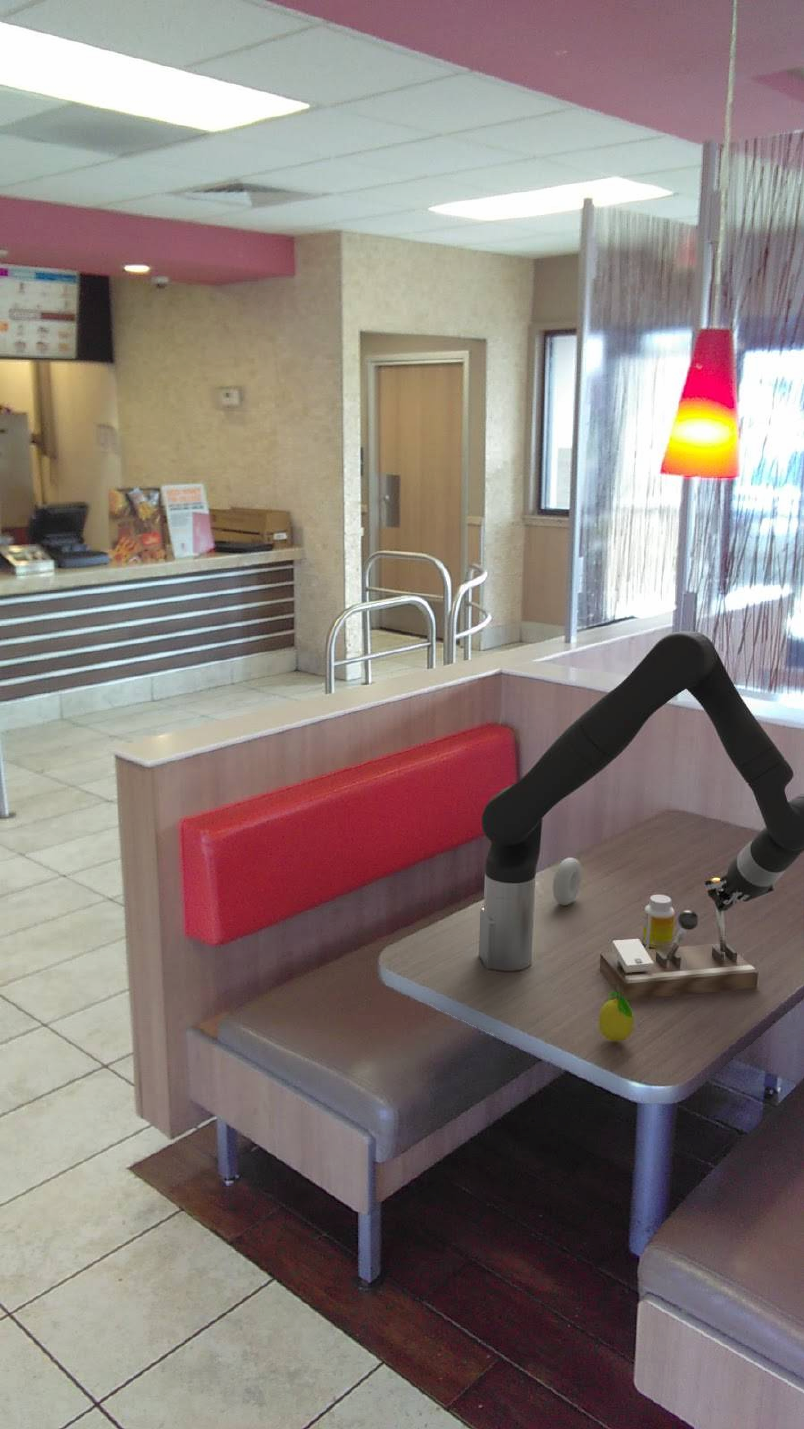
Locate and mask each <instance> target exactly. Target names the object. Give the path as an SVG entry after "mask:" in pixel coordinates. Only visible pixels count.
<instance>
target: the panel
mask: <svg viewBox="0 0 804 1429" xmlns="http://www.w3.org/2000/svg"><path fill="white" fill-rule="evenodd" d="M726 945H727V952H722V951H721V950H720V943H709V944H699V945H698V944H697V945H685V946H679V948H678V950H677V952H676V954H675V956H674V958H673V960H672V961H667V958H666V956H667V954H668V952H669V950H670V948H659V949H647V950H646V949H645V950H646V952H647V953H648V955H649V956H650V958H651V960H652V961H653V963H654V964H653V969H652V970H651V971H640V972H628V973H626V972H625V971H624V969H623V967H622V965H621V964H620V962H619V960H618V959H617V957H616V955H615V953H614V952H613V951H611V952H604V953H603V952H600V958H599V970H600V971H601V970H602V971H601V973H603V974H604V977H606V978H607V979H608V981H609V982H610V983H611V984H612V985H613V986H614V988H615V990H616V991H618V986H619V992H620V994H621V995H623V996H624V997H625V998H626V1000H627V1001H628V1000H637V999H648V998H649V999H651V998H658V997H670V996H671V997H672V996H678V995H679V996H681V995H682V996H683V995H693V994H703V993H715V992H724V991H735V990H744V989H745V990H746V989H756V988H758V979H759V978H758V977H759V972H758V970H756V968H755V967H754V966H753V965H752V964H750V963H749V962H747V961H746V960H745V958H743V957H742V956H741V955H740V954H739V953H738V952H737V951H736V950H735V949H734V948H733V947H732V946H731V945H729V944H728V942H726ZM620 994H619V995H620Z"/></svg>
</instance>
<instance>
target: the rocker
mask: <svg viewBox="0 0 804 1429" xmlns="http://www.w3.org/2000/svg"><path fill="white" fill-rule="evenodd" d="M611 950H612V952H614V953H615V955H616V957H617V959H618V960H619V962H620V964H621V965H622V967H623V969H624V971H625V972H626V973H628V972H640V971H651V970H652V969H653V964H654V963H653V961H652V960H651V958H650V956H649V955H648V953H647V952H646V949H645V948H644V947H643V942H641V940H640V939H639V938H631V939H630V938H629V939H620V940H618V939H617V940H612V943H611Z"/></svg>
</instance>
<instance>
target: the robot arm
mask: <svg viewBox="0 0 804 1429" xmlns="http://www.w3.org/2000/svg"><path fill="white" fill-rule="evenodd" d="M734 684H735V683H734V682H733V681H732V678H731V677H730V675H729V673H728V671H727V669H726V667H725V665H724V663H723V660H722V659H721V657H720V655H719V653H718V651H717V649H716V647H715V645H714V643H713V642H712V641H711V639H710V638H709V637H707V635H705V634H702V633H701V632H698V631H694V630H682V631H675V632H671V633H669V634H667V635H665V636H664V637H662V638H661V639H660V640H658V641H657V642H656V644H655V645H653V646H652V648H651V649H650V651H649V652H648V653H647V654H646V655H645V656H644V657H643V659H642V660H641V661H640V662H639V663H638V665H637V666H636V667H634V669H633V670H632V671H631V673H629V674H628V675H627V677H626V678H625V679H623V681H621V683H619V684H618V685H617V686H616V687H614V688H613V689H612V690H611V691H609V692H608V693H607V694H605V695H604V696H603V697H602V698H600V699H599V700H598V701H597V702H595V703H594V704H593V705H592V706H591V707H589V709H587V710H586V711H585V712H584V713H582V715H581V716H579V717H578V718H577V719H576V720H575V721H574V722H573V723H572V724H570V725H569V726H568V727H567V729H565V730H564V731H563V733H561V735H560V736H559V737H558V738H557V739H556V740H554V742H553V743H552V744H551V745H550V746H549V748H548V749H547V750H546V751H545V752H544V753H543V754H542V756H541V757H540V758H539V760H538V761H537V762H535V764H534V765H533V767H531V768H530V770H529V771H528V772H527V773H526V774H525V775H524V776H523V777H522V778H520V779H519V780H518V781H516V782H515V783H513V784H512V785H509V786H506V787H504V788H503V789H501V790H500V791H499V792H498V793H497V794H496V795H494V796H493V797H492V798H491V799H490V800H489V801H488V802H487V803H486V805H485V807H484V809H483V812H482V815H481V827H482V831H483V833H484V835H485V837H486V839H488V840H489V841H490V843H491V844H490V846H489V850H488V853H487V855H486V857H485V865H484V888H483V889H484V892H483V893H484V894H483V907H481V908H480V911H479V937H478V939H479V941H478V956H479V958H480V959H481V961H482V962H483V964H484V966H485V967H486V969H487V970H498V971H505V972H515V971H521V970H525V969H526V968H528V967H530V965H531V963H532V960H533V959H532V958H533V957H532V956H533V940H534V939H533V936H534V916H535V914H534V913H535V894H536V893H535V892H536V873H537V871H536V870H537V865H538V862H539V858H540V852H541V842H542V830H543V818H544V817H545V816H546V815H547V814H548V813H549V812H550V811H551V810H552V809H553V808H554V807H555V806H556V805H557V804H558V803H559V802H561V801H562V800H564V799H565V798H567V797H568V796H569V795H571V794H573V793H574V792H575V791H576V790H578V789H580V787H582V786H584V784H586V783H587V782H589V781H590V780H592V779H593V778H594V777H595V776H596V775H597V774H599V773H600V772H602V771H603V770H604V769H605V768H606V767H607V766H609V765H610V763H613V761H615V759H617V758H618V756H620V755H621V754H622V753H623V751H624V750H626V748H627V747H629V745H630V744H631V743H632V742H633V740H634V739H635V738H636V736H637V735H638V733H639V732H640V731H641V729H642V728H643V726H644V725H645V724H646V722H647V721H648V720H649V719H650V717H652V716H653V715H654V713H655V712H657V711H658V710H660V708H662V707H663V706H664V705H665V704H667V703H668V702H670V701H671V700H672V699H673V698H675V697H676V696H678V695H679V694H681V693H682V692H684V691H688V692H689V693H690V694H691V696H693V697H694V699H695V700H696V701H697V702H698V703H699V705H700V706H701V707H702V708H703V710H704V712H705V713H706V715H707V716H708V718H709V720H710V721H711V723H712V724H713V727H714V729H715V731H716V733H717V735H718V738H719V740H720V742H721V744H722V746H723V748H724V750H725V752H726V754H727V756H728V757H729V759H730V761H731V763H732V764H733V765H734V767H735V769H736V770H737V771H738V772H739V773H738V774H740V775H741V777H742V779H743V780H744V781H745V782H746V784H747V785H748V787H749V788H750V789H751V791H752V793H753V795H754V798H755V800H756V805H757V806H758V809H759V812H760V814H761V816H762V819H763V822H764V824H765V825H764V826H765V827H764V828H763V829H761V831H760V832H759V833H758V834H757V835H756V836H755V837H754V838H753V839H752V840H751V841H749V842H748V843H747V844H745V846H743V848H742V849H741V850H740V852H738V854H737V855H736V856H735V857H734V858H733V859H732V861H731V862H730V863H729V865H728V869H727V873H726V874H725V875H723V876H721V877H719V878H720V882H717V883H716V882H712V881H711V879H710V880H709V879H708V880H706V881H704V885H705V888H706V891H707V895H708V897H710V899H712V900H713V902H714V904H715V909H716V908H717V909H718V911H723V912H724V911H728V910H729V909H730V908H732V906H733V905H734V904H735V905H736V904H738V903H740V902H742V901H743V902H748V901H751V900H754V899H756V898H759V897H761V896H765V895H766V894H768V893H771V892H773V891H774V890H775V889H774V886H773V885H774V884H775V883H776V882H777V881H778V880H779V879H781V877H782V876H784V873H785V872H786V871H787V869H788V868H789V867H790V866H791V865H792V864H794V862H795V861H796V860H797V858H798V857H799V856H800V855H802V853H804V792H803V793H801V794H799V795H796V796H795V797H794V798H792V799H791V800H790V801H788V797H787V796H786V790H785V789H786V787H787V786H788V785H789V783H791V781H792V779H793V778H794V771H793V769H792V767H791V765H790V764H789V762H788V761H787V760H786V758H785V757H784V755H783V754H782V752H781V751H780V750H779V749H778V747H777V746H776V744H775V743H774V742H773V740H772V739H771V737H770V736H769V735H768V734H767V732H766V731H765V729H764V728H763V727H762V726H761V724H760V723H759V721H758V720H757V719H756V717H755V716H754V714H753V712H752V711H751V710H750V709H749V707H748V706H747V704H746V702H745V701H744V699H743V698H742V696H741V694H740V693H739V691H738V689H737V688H736V686H735V685H734ZM721 888H722V889H721ZM720 889H721V890H720Z"/></svg>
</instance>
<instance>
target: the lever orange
mask: <svg viewBox="0 0 804 1429" xmlns="http://www.w3.org/2000/svg"><path fill="white" fill-rule="evenodd" d="M720 878H721V877H713V878H711V879H710V880H711V881H712V882H716V883H717V882H720ZM721 889H722V888H721ZM721 889H720V890H721ZM715 910H716V911H715V913H716V921H717V922H716V923H717V924H716V925H717V930H718V931H717V933H718V941H719V943H718V944H720V950H721V951H722V952H727V945H726V943H727V937H726V929H725V918H724V911H718V909H717V908H716V907H715Z"/></svg>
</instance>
